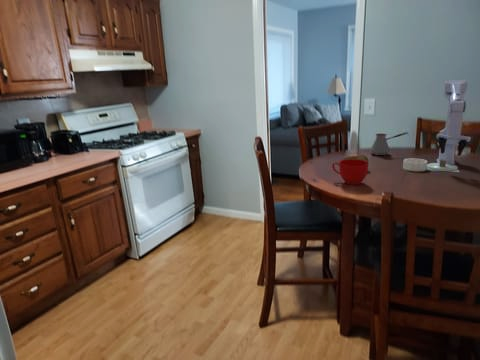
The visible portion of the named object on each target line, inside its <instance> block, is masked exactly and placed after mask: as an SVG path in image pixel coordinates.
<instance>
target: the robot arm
mask: <svg viewBox="0 0 480 360" xmlns="http://www.w3.org/2000/svg"><path fill="white" fill-rule="evenodd" d="M467 88H468V80H467V79H462V80H461V79H460V80H459V79H458V80H457V79H456V80H453V79H452V80H449V79H447V80H446V81H445V82H444V87H443V89H444V90H443V97H445V98H447V111H446V120H445V127H444V128H443V129H442V130H440V131H439V133H437V134H436V136H435V137H436V139H437V146H439V154H438V158H436V163H439V162H440V159H446V164H452V165H456V163H455V161H454V159H455V151H456V148H458V150H457V156H459V157H460V156H462V153H463V151H464V149H465V148H466V146H467V145H468V144H469V142H470V141H471V139H472V137H471V136H466V135H461V132H462V126H463V120H464V114H465V112H466V109H467V101H466V100H465V95H466V92H467Z"/></svg>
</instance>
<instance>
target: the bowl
mask: <svg viewBox="0 0 480 360" xmlns="http://www.w3.org/2000/svg"><path fill="white" fill-rule="evenodd" d="M427 164H428V160H426V159H424V158H422V159H421V158H412V157H410V158H404V159H403V163H402V169H403V170H406V171H409V172H410V171H411V172H424V171H427Z"/></svg>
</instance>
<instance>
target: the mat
mask: <svg viewBox="0 0 480 360" xmlns="http://www.w3.org/2000/svg"><path fill="white" fill-rule="evenodd" d="M454 165H455V166H457V165H456V164H454ZM426 171H433V172H435V171H437V172H439V171H438V170H432V169H429V168H427V169H426ZM447 172H453V173H460V170H459V168H458V169H457V170H455V171H447Z"/></svg>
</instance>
